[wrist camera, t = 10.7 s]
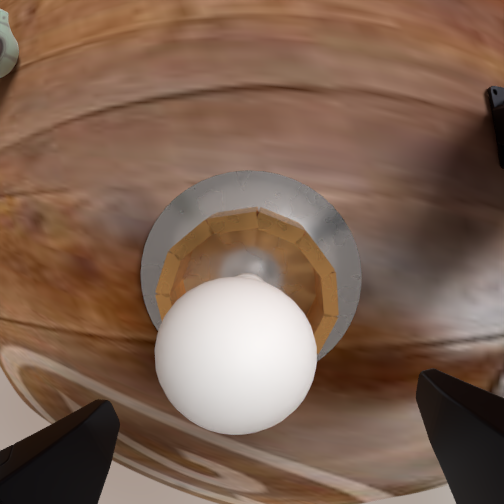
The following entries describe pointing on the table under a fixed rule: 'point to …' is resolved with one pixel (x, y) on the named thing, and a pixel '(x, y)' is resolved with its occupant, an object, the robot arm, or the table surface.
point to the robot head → (7, 46)
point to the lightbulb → (235, 355)
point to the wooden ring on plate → (256, 248)
